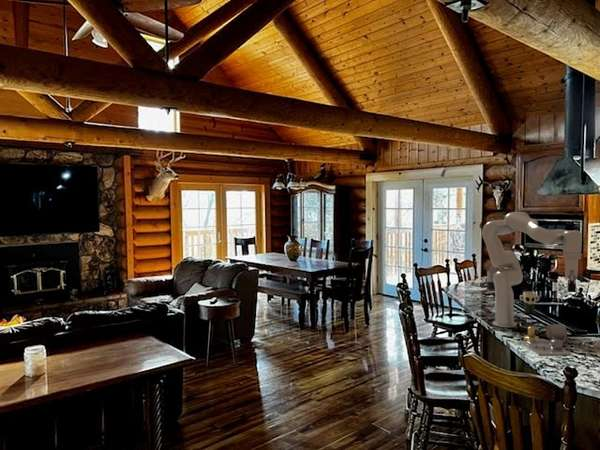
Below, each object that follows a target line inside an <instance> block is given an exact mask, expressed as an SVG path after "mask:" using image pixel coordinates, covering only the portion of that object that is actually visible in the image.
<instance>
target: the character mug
mask: <svg viewBox="0 0 600 450" xmlns="http://www.w3.org/2000/svg"><path fill="white" fill-rule="evenodd" d="M519 300H520V301H523V303H524V308H523V312H524V313H525V314H526V313H527V314H530V313H531V314H535V313H536V308H535V304H536V302H538V301H540V295H537V293H536V292H534V291H523V293H522V294H520V295H519ZM534 312H535V313H534Z"/></svg>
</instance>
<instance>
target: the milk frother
mask: <svg viewBox="0 0 600 450" xmlns="http://www.w3.org/2000/svg"><path fill="white" fill-rule="evenodd" d="M497 271H499V270H498V269H487V270H486V274H487V275H486V276H487V278H486V279H487V281H485V282H481V283H479V287H481V288H486V289H487V290H491V291H495V285H494V280H493V277H494V274H495V273H496V272H497Z"/></svg>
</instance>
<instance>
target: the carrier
mask: <svg viewBox="0 0 600 450" xmlns="http://www.w3.org/2000/svg"><path fill="white" fill-rule="evenodd" d="M520 344H521V345H523V346H524V347H526V348H528V349H529V350H530V351H532V352H533V353H534V352H535V353H534V354H535V355H537V354H538V355H537V356H565V355H566V356H569V355H570V351H569V350H567V349H565V348H563V347H564V345H563V344H564V342H563V341H562V340H559V339H549V340H548V339H545V338H539V339H528V340H527V341H525V340H521V343H520Z"/></svg>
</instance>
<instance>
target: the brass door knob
mask: <svg viewBox="0 0 600 450" xmlns="http://www.w3.org/2000/svg"><path fill="white" fill-rule="evenodd" d="M528 339H540V337H539V336H537V335H536V327H535V326H527V334H526V335H523V341H527V340H528Z"/></svg>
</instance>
